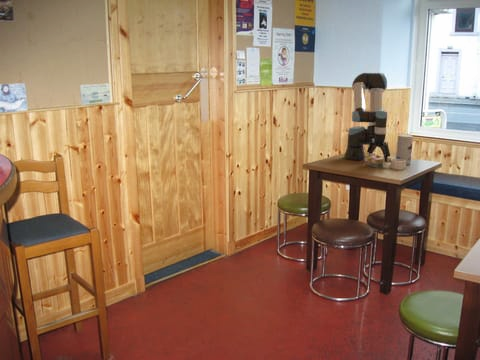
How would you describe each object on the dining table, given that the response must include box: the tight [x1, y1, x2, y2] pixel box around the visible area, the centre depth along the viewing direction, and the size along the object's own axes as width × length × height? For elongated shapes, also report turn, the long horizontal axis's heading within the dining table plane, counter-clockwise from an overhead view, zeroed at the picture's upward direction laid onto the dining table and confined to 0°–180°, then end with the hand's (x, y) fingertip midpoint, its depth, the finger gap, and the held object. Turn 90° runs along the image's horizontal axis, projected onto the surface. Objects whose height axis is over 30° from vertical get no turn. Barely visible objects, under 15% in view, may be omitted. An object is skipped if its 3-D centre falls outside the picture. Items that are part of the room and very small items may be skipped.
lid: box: [364, 154, 392, 164], centre depth 350 cm, size 12×12×4 cm
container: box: [395, 134, 414, 166], centre depth 360 cm, size 10×10×20 cm
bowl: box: [389, 158, 407, 171], centre depth 346 cm, size 10×10×6 cm
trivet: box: [370, 162, 384, 169], centre depth 351 cm, size 6×6×4 cm
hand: (377, 164), depth 351 cm, fingers closed on lid, 12 cm apart
